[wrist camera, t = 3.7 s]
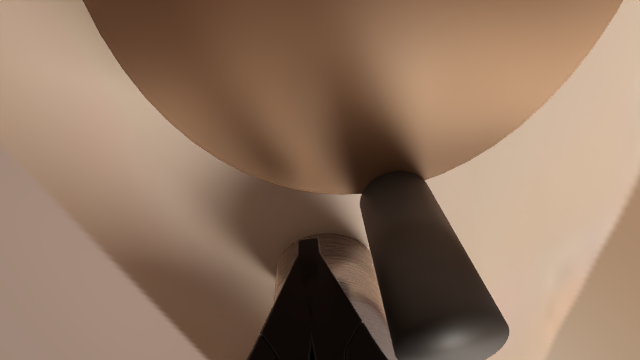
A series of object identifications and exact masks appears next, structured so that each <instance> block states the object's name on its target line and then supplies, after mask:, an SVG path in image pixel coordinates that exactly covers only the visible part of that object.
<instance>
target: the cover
mask: <svg viewBox="0 0 640 360" xmlns="http://www.w3.org/2000/svg"><path fill="white" fill-rule="evenodd" d="M313 237H318V238H319V244H320V252H321V255H322V256H323V258H324V260H325V261H326V263H327V264H328V266H329V268H330V269H331V271H332V272H333V274H334V276H335V277H336V279H337V281H338V282H339V284H340V285H341V287H342V289H343V290H344V292H345V294H346V295H347V297H348V298H349V300H350V302H351V303H352V305H353V307H354V308H355V310H356V311H357V313H358V315H359V316H360V318H361V320H362V323H364V324H365V326H366V327H367V329H368V331H369V332H370V334H371V335H372V337H373V338H374V340H375V341H376V343H377V344H378V346H379V347H380V349H381V350H382V352H383V353H384V355H385V356H386V357H387V359H388V360H397V359H396V356H395V354H394V350H393V345H392V341H391V337H390V332H389V328H388V324H387V320H386V315H385V311H384V307H383V302H382V298H381V294H380V290H379V285H378V281H377V277H376V272H375V268H374V264H373V260H372V255H371V253H370V252H369V250H368V249H367V248H366V247H365V246H364V245H363V244H361V243H360V242H358V241H357V240H355V239H352V238H350V237H347V236H343V235H338V234H318V235H313V236H309V237H306V238H313ZM303 239H305V238H303ZM297 246H298V241H296V242H295V243H293V244H292V245H290V246H289V247H288V248H287V249H286V250H285V251H284V252H283V253H282V255H281V256H280V258H279V260H278V264H277V273H276V284H275V294H274V303H275V301H276V299H277V296H278V294H279V292H280V290H281V288H282V286H283V284H284V282H285V280H286V277H287V275H288V273H289V271H290V269H291V267H292V265H293V263H294V261H295V258H296V256H297ZM273 305H274V304H273Z"/></svg>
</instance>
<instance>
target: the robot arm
mask: <svg viewBox="0 0 640 360" xmlns="http://www.w3.org/2000/svg"><path fill="white" fill-rule="evenodd" d="M260 334H261V335H259V336H258V338H257V340H256V343H255V345H254V347H253V349H252V351H251V353H250V355H249V357H248V359H247V360H388V359H387V357H386V356H385V355H384V353H383V352H382V350H381V349H380V347H379V346H378V344H377V343H376V341H375V340H374V338H373V337H372V335H371V334H370V332H369V331H368V329H367V327H366V326H365V324H364V323H362V320H361V318H360V316H359V315H358V313H357V311H356V310H355V308H354V307H353V305H352V303H351V302H350V300H349V298H348V297H347V295H346V294H345V292H344V290H343V289H342V287H341V285H340V284H339V282H338V281H337V279H336V277H335V276H334V274H333V272H332V271H331V269H330V268H329V266H328V264H327V263H326V261H325V260H324V258H323V256H322V255H321V252H320V244H319V238H318V237H313V238H305V239H299V240H298V246H297V256H296V258H295V261H294V263H293V265H292V267H291V269H290V271H289V273H288V275H287V277H286V280H285V282H284V284H283V286H282V288H281V290H280V292H279V294H278V296H277V299H276V301H275V303H274V305H273V307H272V309H271V311H270V313H269V315H268V318H267V320H266V322H265V324H264V326H263V328H262V330H261V332H260Z"/></svg>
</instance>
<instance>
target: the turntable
mask: <svg viewBox="0 0 640 360" xmlns="http://www.w3.org/2000/svg"><path fill="white" fill-rule="evenodd" d="M83 1H84V3H85V5H86V7H87V9H88V11H89V13H90V15H91V17H92V19H93V21H94V23H95V25H96V27H97V29H98V31H99V33H100V34H101V36H102V38H103V39H104V41H105V42H106V44H107V45H108V47H109V48H110V50H111V52H112V53H113V55H114V56H115V58H116V59H117V61H118V63H119V64H120V66H121V67H122V69H123V70H124V71H125V72H126V74H127V75H128V76H129V77H130V79H131V80H132V81H133V83H134V84H135V85H136V86H137V88H138V89H139V90H140V91H141V93H142V94H143V95H144V96H145V98H146V99H147V100H148V101H149V102H150V103H151V104H152V105H153V106H154V107H155V108H156V109H157V110H158V111H159V112H160V113H161V114H162V115H163V116H164V117H165V118H166V119H167V120H168V121H169V122H170V123H171V124H172V125H173V126H175V127H176V128H177V129H178V130H179V131H181V132H182V133H183V134H184V135H185V136H187V137H188V138H189V139H190V140H191V141H192V142H194V143H195V144H197V145H198V146H200V147H201V148H203V149H204V150H206V151H207V152H209V153H210V154H212V155H213V156H214V157H216V158H217V159H219V160H221V161H223V162H225V163H227V164H229V165H231V166H232V167H234V168H236V169H238V170H240V171H242V172H244V173H247V174H249V175H252V176H254V177H257V178H259V179H262V180H264V181H267V182H270V183H273V184H277V185H280V186H284V187H288V188H291V189H296V190H302V191H308V192H314V193H325V194H362V195H361V199H360V208H361V212H362V217H363V221H364V225H365V230H366V234H367V238H368V242H369V247H370V251H371V255H372V260H373V264H374V268H375V272H376V277H377V281H378V285H379V290H380V294H381V298H382V302H383V307H384V311H385V315H386V320H387V324H388V328H389V332H390V337H391V341H392V345H393V350H394V354H395V356H396V358H397V360H485V359H487V358H489V357H490V356H492V355H493V354H495V353H496V352H497V351H499V350H500V349H501V348H502V347H503V345H504V344H505V343H506V341H507V339H508V336H509V327H508V325H507V323H506V321H505V319H504V317H503V316H502V314H501V312H500V311H499V309H498V307H497V305H496V304H495V302H494V300H493V298H492V297H491V295H490V293H489V291H488V290H487V288H486V286H485V284H484V283H483V281H482V279H481V277H480V276H479V274H478V272H477V270H476V269H475V267H474V265H473V264H472V262H471V260H470V258H469V257H468V255H467V253H466V251H465V250H464V248H463V246H462V244H461V243H460V241H459V239H458V237H457V236H456V234H455V232H454V230H453V229H452V227H451V225H450V223H449V222H448V220H447V218H446V217H445V215H444V213H443V211H442V210H441V208H440V206H439V204H438V203H437V201H436V199H435V197H434V196H433V194H432V192H431V190H430V189H429V187H428V185H427V183H426V182H425V181H424V180H427V179H429V178H432V177H435V176H437V175H440V174H443V173H445V172H447V171H449V170H451V169H453V168H455V167H457V166H459V165H461V164H463V163H465V162H467V161H469V160H471V159H473V158H474V157H476V156H478V155H479V154H481V153H482V152H484V151H486V150H487V149H489V148H491V147H492V146H494V145H495V144H497V143H498V142H499V141H501V140H502V139H503V138H505V137H506V136H507V135H509V134H510V133H511V132H513V131H514V130H515V129H517V128H518V127H519V126H521V125H522V124H523V123H524V122H525V121H526V120H527V119H528V118H529V117H531V116H532V115H533V114H534V113H535V112H536V111H537V110H538V109H540V108H541V107H542V106H543V105H544V104H545V103H546V102H547V101H548V100H549V99H550V98H551V97H552V96H553V94H554V93H555V92H556V91H557V90H558V89H559V88H560V87H561V86H562V85H563V84H564V83H565V82H566V81H567V80H568V78H569V77H570V76H571V75H572V74H573V72H574V71H575V70H576V69H577V67H578V66H579V65H580V63H581V62H582V61H583V60H584V58H585V57H586V56H587V55H588V53H589V52H590V51H591V49H592V48H593V47H594V45H595V44H596V42H597V41H598V39H599V38H600V36H601V35H602V33H603V32H604V30H605V29H606V27H607V26H608V24H609V23H610V21H611V20H612V18H613V17H614V15H615V14H616V12H617V11H618V9H619V7H620V5H621V3H622V1H623V0H83Z"/></svg>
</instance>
